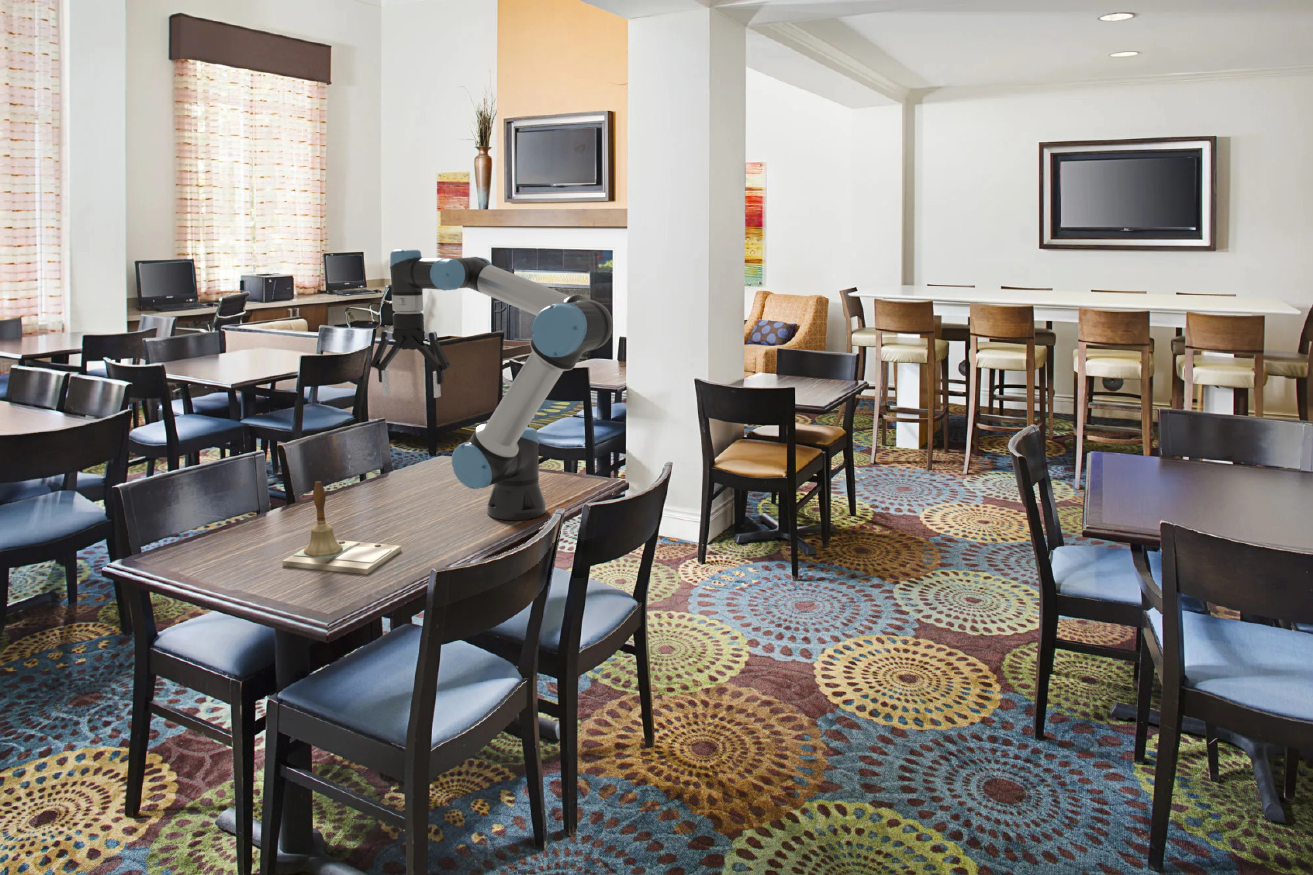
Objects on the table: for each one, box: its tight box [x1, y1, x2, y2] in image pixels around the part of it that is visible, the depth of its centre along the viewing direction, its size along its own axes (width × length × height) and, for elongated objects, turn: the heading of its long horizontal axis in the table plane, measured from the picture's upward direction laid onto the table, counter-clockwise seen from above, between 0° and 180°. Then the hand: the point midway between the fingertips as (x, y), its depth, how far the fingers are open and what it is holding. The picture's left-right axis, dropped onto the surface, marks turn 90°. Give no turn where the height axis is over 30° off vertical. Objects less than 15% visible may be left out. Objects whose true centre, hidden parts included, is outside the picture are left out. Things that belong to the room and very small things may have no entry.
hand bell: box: [303, 480, 343, 556], centre depth 214 cm, size 8×8×16 cm
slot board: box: [281, 539, 402, 575], centre depth 215 cm, size 20×16×1 cm
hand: (411, 396), depth 244 cm, fingers open, 13 cm apart
